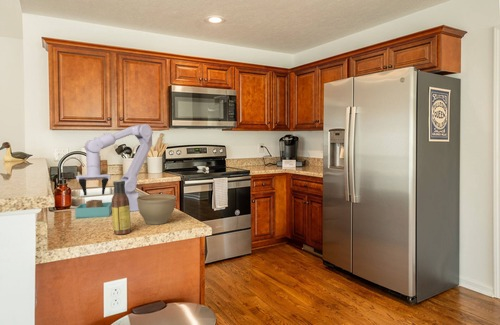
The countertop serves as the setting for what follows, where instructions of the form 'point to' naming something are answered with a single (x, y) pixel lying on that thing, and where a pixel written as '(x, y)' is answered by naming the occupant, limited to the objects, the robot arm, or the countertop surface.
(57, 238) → the countertop surface
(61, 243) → the countertop surface
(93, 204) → the walnut block
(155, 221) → the planter bowl
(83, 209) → the teal bin
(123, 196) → the sauce bottle
